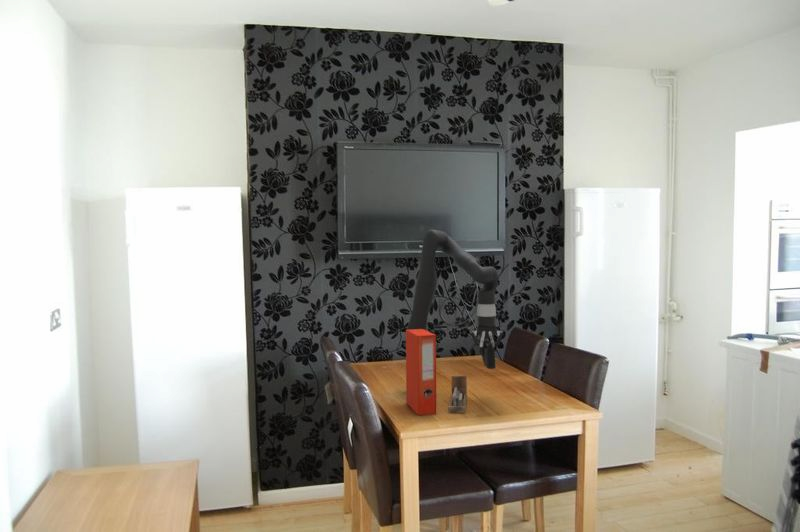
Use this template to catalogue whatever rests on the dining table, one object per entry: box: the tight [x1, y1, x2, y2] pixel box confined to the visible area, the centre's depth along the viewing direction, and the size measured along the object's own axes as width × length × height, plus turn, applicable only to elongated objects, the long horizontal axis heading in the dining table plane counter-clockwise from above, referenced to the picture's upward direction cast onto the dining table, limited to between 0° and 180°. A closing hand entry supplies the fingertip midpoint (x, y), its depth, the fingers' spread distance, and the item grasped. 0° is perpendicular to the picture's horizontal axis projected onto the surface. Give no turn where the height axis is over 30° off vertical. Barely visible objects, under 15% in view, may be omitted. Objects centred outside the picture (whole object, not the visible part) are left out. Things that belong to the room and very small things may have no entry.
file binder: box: [405, 329, 437, 416], centre depth 236 cm, size 8×17×32 cm, turn 15°
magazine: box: [481, 339, 496, 370], centre depth 236 cm, size 17×3×30 cm
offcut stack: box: [453, 388, 464, 407], centre depth 240 cm, size 3×14×6 cm, turn 172°
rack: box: [448, 375, 468, 414], centre depth 240 cm, size 6×22×10 cm, turn 172°
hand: (487, 355), depth 237 cm, fingers closed on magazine, 3 cm apart
